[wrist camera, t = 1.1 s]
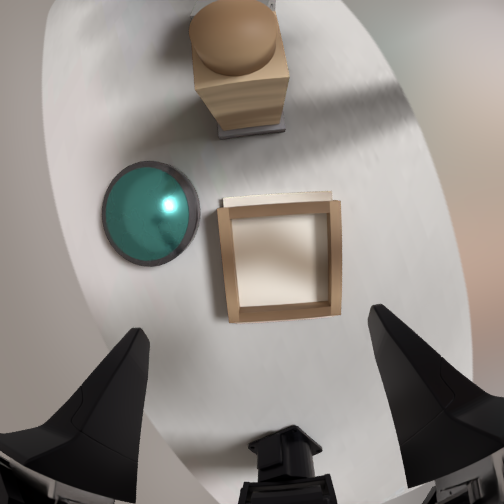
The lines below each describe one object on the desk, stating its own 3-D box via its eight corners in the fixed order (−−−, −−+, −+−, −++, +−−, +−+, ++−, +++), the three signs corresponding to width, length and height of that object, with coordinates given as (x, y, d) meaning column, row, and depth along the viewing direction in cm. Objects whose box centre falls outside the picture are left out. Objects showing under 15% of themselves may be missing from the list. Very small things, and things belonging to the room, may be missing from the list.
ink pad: (221, 222, 21) (217, 224, 19) (147, 280, 22) (140, 286, 20) (161, 142, 19) (153, 138, 18) (95, 206, 21) (85, 207, 19)
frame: (335, 314, 22) (340, 322, 20) (232, 321, 22) (230, 330, 21) (334, 190, 20) (339, 190, 18) (219, 198, 20) (216, 198, 19)
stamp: (284, 131, 19) (306, 67, 8) (220, 139, 19) (173, 85, 8) (275, 76, 18) (284, -17, 7) (214, 84, 18) (171, 0, 7)
